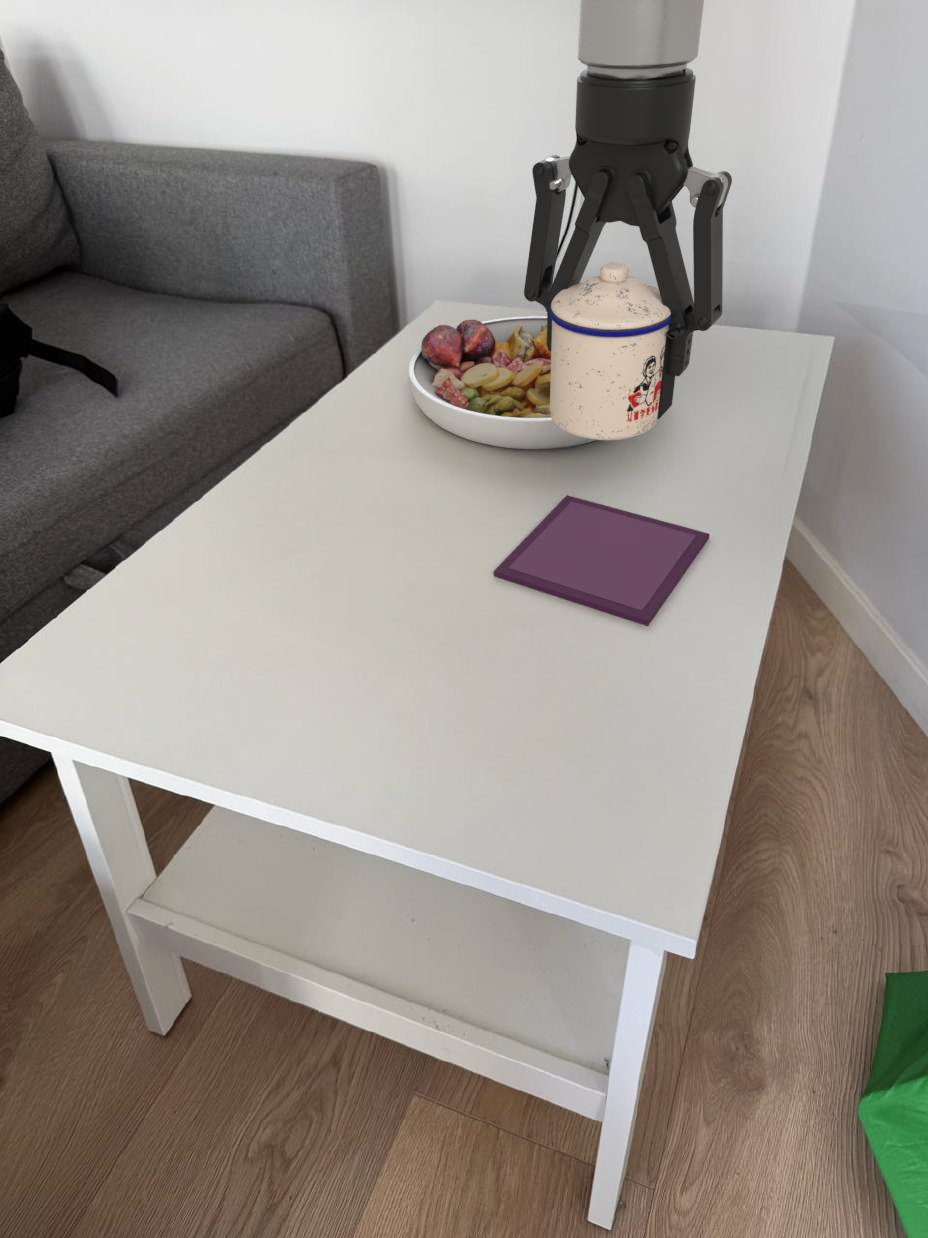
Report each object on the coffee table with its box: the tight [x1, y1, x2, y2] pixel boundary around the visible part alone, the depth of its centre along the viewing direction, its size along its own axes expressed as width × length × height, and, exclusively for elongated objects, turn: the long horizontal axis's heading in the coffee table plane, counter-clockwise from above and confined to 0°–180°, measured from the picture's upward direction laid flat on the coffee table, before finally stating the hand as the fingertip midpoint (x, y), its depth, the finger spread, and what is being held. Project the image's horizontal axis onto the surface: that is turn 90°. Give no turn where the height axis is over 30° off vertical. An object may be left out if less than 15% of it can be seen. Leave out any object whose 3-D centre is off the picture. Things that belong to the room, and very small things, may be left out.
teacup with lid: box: [549, 261, 672, 441], centre depth 69 cm, size 12×9×12 cm
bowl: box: [407, 315, 597, 450], centre depth 109 cm, size 30×30×8 cm
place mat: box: [493, 494, 710, 627], centre depth 85 cm, size 15×15×1 cm
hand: (612, 400), depth 72 cm, fingers closed on teacup with lid, 7 cm apart
